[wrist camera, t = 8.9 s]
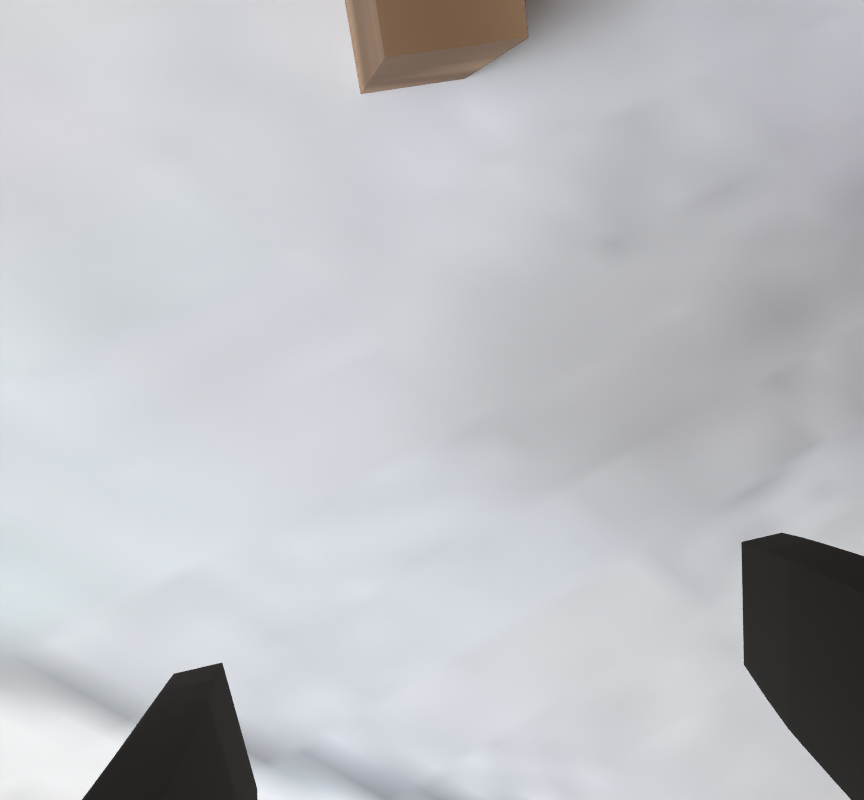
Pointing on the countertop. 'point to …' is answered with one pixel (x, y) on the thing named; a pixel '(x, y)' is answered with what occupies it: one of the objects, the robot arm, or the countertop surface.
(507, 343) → the countertop surface
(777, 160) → the countertop surface
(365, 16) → the bed rail
